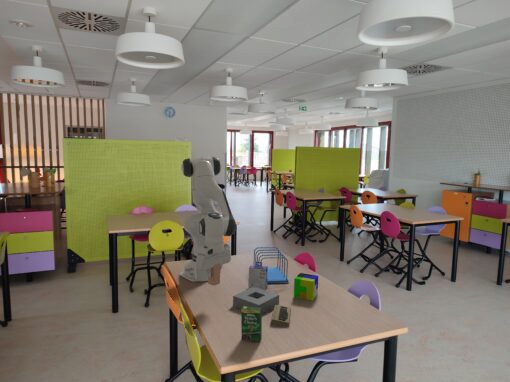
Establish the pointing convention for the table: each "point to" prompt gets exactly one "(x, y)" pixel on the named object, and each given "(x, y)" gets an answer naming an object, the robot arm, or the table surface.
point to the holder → (256, 299)
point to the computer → (281, 316)
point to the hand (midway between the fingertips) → (214, 275)
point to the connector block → (214, 275)
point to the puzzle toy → (306, 286)
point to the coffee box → (251, 324)
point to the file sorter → (274, 272)
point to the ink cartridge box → (258, 276)
